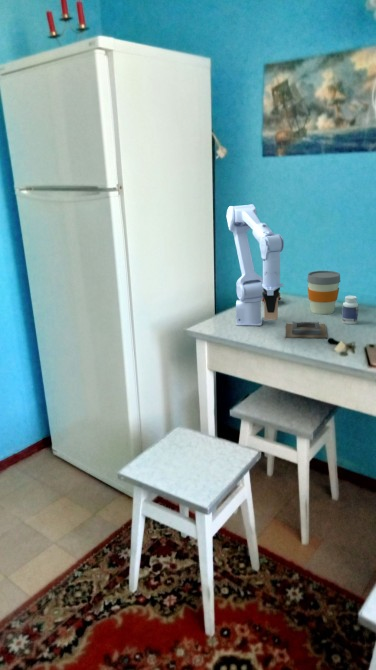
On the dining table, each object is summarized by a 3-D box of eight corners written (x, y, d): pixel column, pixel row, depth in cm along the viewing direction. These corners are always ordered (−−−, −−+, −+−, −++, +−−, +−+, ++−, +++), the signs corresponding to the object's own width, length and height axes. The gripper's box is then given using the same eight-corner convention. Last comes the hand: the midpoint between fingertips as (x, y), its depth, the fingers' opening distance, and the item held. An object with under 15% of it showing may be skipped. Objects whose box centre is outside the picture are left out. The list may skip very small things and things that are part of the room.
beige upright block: (264, 319, 166) (264, 299, 164) (265, 315, 170) (265, 296, 168) (277, 319, 165) (277, 299, 163) (277, 315, 169) (277, 296, 167)
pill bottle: (357, 324, 176) (359, 298, 173) (342, 324, 177) (344, 298, 174) (356, 320, 181) (357, 294, 178) (341, 319, 182) (342, 294, 179)
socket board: (285, 337, 167) (285, 332, 167) (286, 324, 180) (286, 319, 179) (327, 338, 164) (327, 333, 164) (324, 325, 177) (325, 320, 176)
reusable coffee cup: (306, 305, 201) (307, 270, 196) (338, 306, 198) (340, 270, 193) (305, 315, 190) (306, 277, 185) (339, 315, 186) (341, 277, 181)
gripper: (283, 276, 155) (282, 316, 159) (283, 266, 168) (283, 304, 173) (260, 276, 156) (260, 316, 161) (263, 267, 170) (263, 304, 174)
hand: (271, 310), depth 167 cm, fingers closed on beige upright block, 4 cm apart
